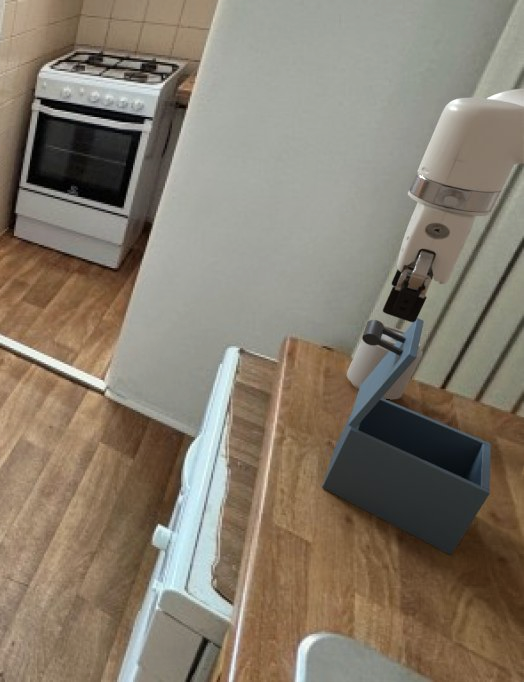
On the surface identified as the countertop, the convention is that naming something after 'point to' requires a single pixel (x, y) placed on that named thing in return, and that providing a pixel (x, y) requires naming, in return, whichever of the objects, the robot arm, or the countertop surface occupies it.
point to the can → (372, 356)
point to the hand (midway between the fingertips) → (402, 302)
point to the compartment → (412, 473)
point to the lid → (385, 365)
